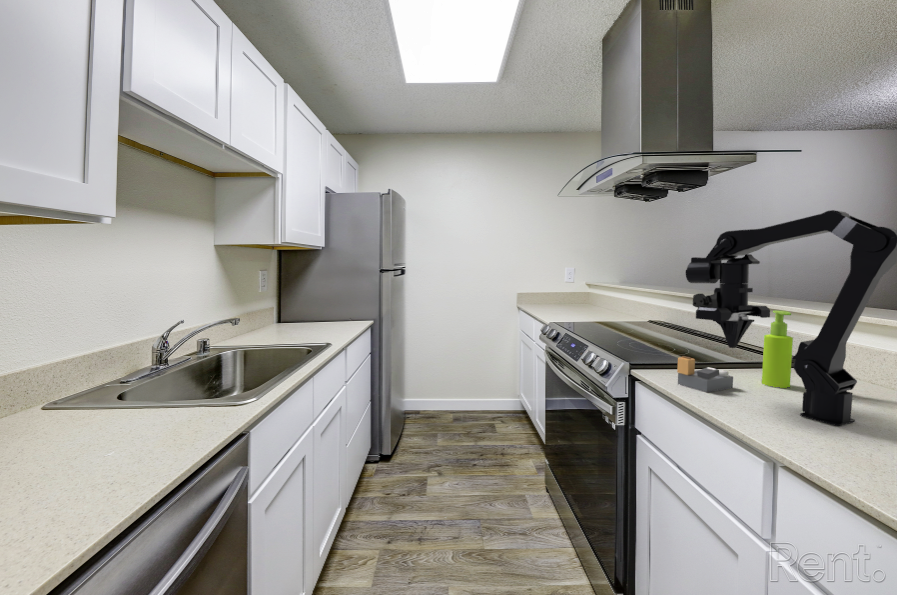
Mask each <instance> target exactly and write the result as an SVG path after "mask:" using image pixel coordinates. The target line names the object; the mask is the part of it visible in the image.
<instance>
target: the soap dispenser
mask: <svg viewBox="0 0 897 595" xmlns="http://www.w3.org/2000/svg"><path fill="white" fill-rule="evenodd" d="M772 313H774V314H775V318H774V321H773V322H771V323H770V332H769V334H764V336H763V353H762V354H763V355H762V370H761V371H762V373H761V384H762V385H763V384H765V385H764V386H766V385H768V386H767V387H770V386H773V387H772V388H776V387H780V388H779V389H788V388H787V387H790V388H791V374H792V360H793V359H792V357H793V342H794V341H793V340H794V338H793V336H791V335H790V336H789V335H788V323H786V322H785V321H784V316H792V312H789V311H787V310H773V311H772Z"/></svg>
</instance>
